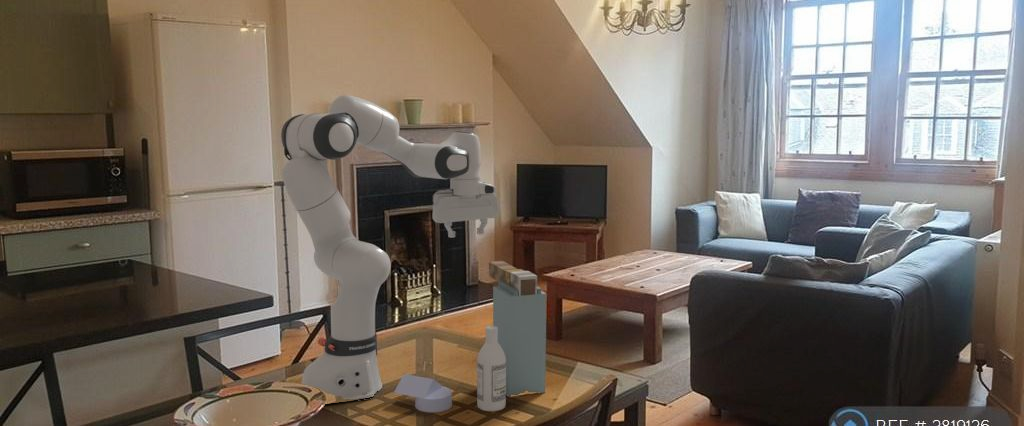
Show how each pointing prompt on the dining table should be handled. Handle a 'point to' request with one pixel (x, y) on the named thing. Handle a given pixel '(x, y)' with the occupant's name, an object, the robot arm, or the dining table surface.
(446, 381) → the dining table surface
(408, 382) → the wedge on round base
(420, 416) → the dining table surface
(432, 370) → the dining table surface
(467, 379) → the dining table surface
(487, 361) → the bath foam
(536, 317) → the pale blue tall block
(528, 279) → the patterned long box
